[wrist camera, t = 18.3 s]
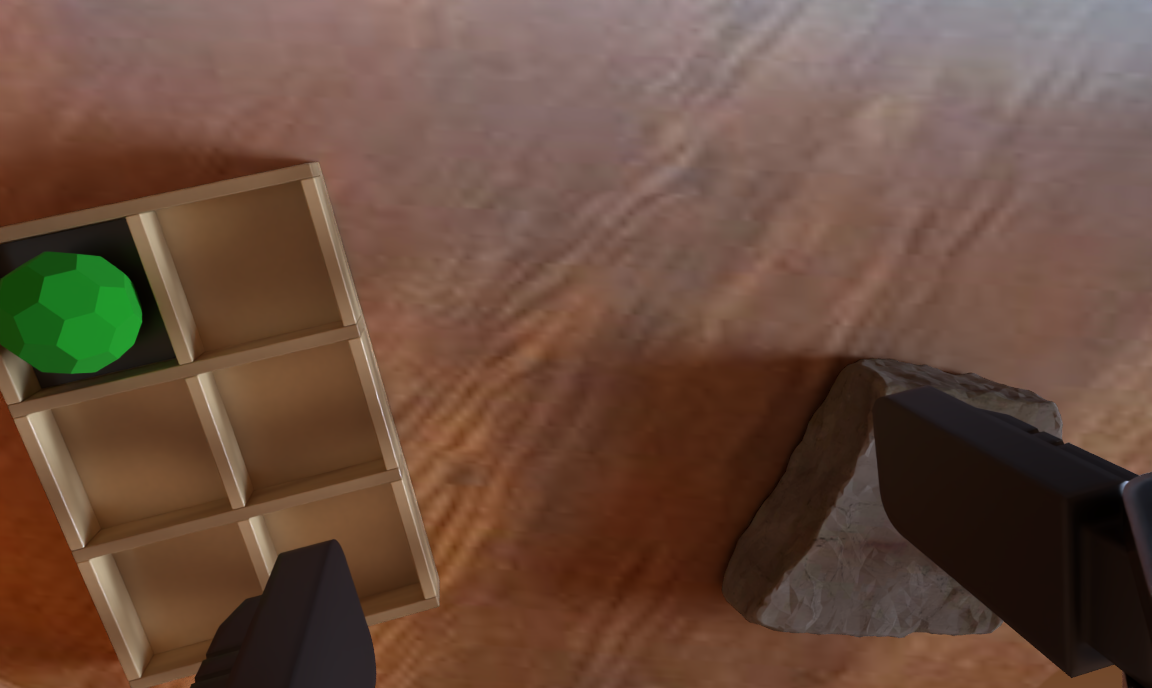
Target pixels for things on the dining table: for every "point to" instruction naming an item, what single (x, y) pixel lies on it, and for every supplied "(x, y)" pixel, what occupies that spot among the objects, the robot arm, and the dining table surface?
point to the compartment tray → (219, 418)
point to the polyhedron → (68, 312)
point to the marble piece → (859, 522)
